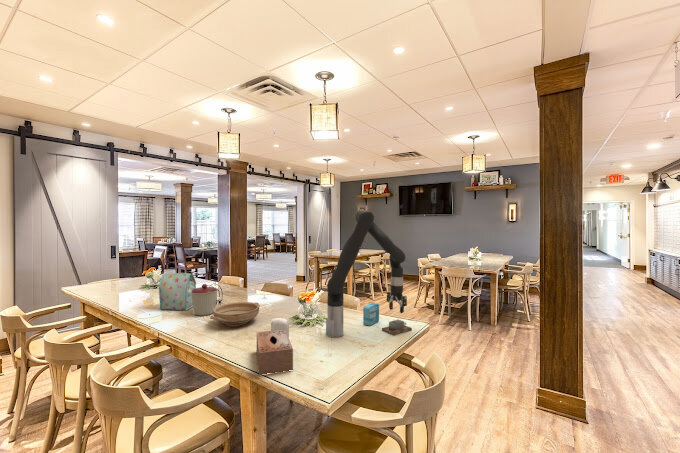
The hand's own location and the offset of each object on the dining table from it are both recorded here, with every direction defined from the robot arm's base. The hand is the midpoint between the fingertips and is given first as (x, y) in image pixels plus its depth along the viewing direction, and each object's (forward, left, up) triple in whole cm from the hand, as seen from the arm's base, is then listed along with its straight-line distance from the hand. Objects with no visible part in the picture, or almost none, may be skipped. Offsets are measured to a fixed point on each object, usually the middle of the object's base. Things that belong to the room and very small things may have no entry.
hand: (396, 311), depth 186 cm
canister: (-85, +104, -12) cm, 135 cm away
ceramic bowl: (-73, +70, -12) cm, 102 cm away
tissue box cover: (-76, +5, -12) cm, 77 cm away
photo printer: (-63, +26, -12) cm, 69 cm away
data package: (-3, +19, -12) cm, 22 cm away
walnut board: (0, 0, -12) cm, 12 cm away
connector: (0, 0, -10) cm, 10 cm away
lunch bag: (-98, +131, -12) cm, 164 cm away
